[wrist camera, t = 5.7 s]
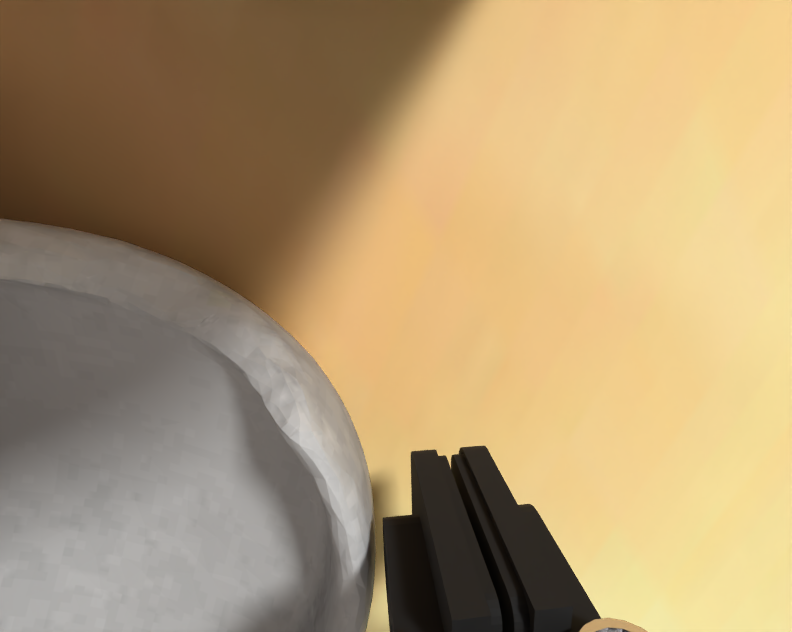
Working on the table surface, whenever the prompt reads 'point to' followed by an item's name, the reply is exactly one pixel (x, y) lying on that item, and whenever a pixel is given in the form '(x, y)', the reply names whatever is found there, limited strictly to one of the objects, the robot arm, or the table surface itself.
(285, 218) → the table surface
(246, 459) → the dish
